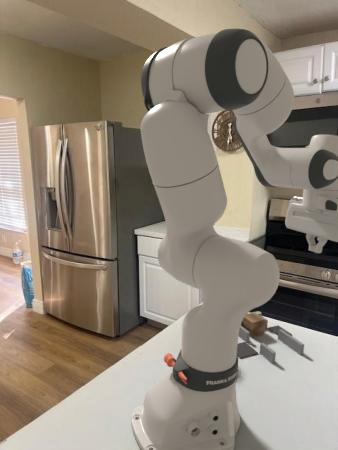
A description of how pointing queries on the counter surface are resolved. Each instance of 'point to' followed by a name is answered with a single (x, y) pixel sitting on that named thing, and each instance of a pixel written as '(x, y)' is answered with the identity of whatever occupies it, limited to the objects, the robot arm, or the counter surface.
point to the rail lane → (282, 336)
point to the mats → (247, 350)
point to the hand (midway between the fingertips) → (315, 251)
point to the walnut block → (254, 324)
